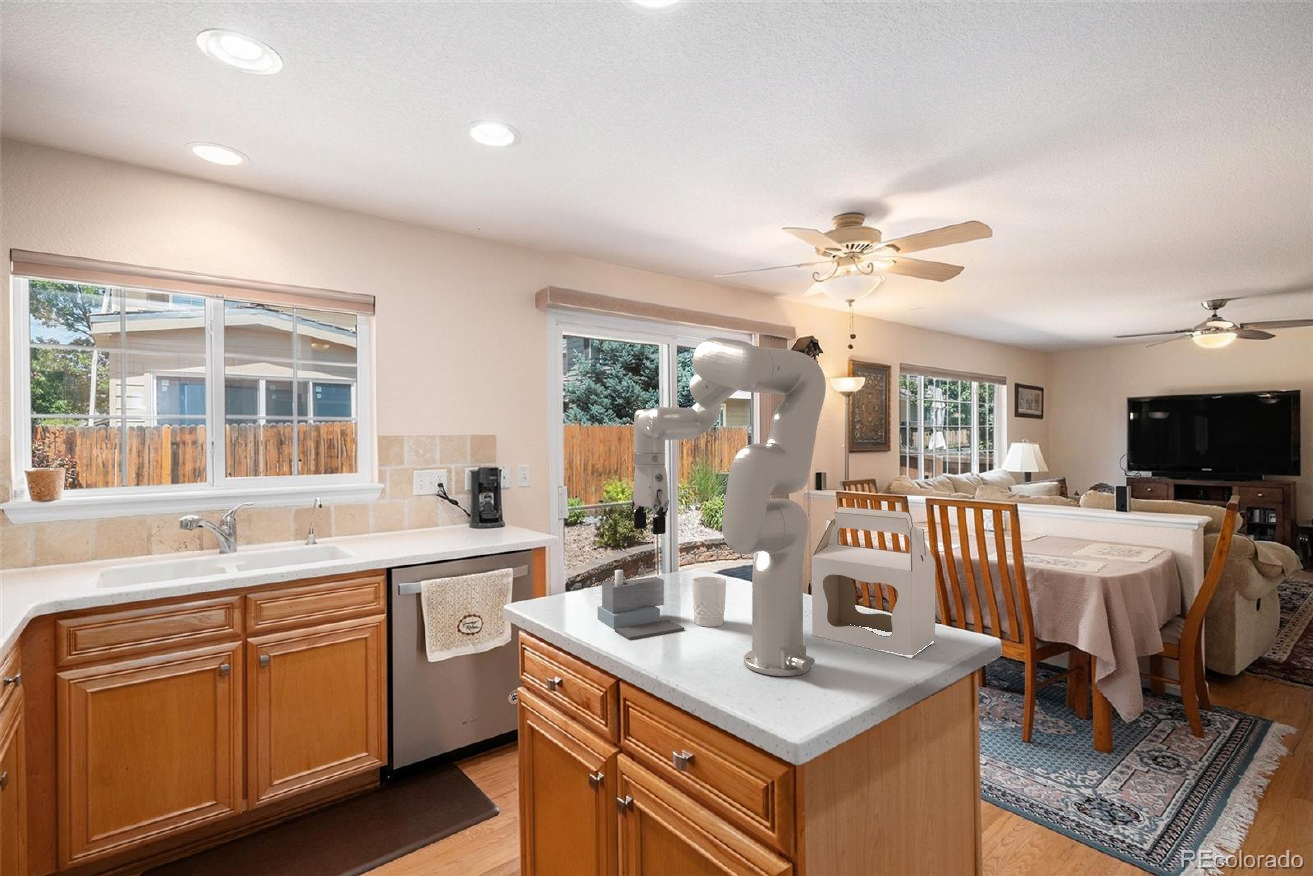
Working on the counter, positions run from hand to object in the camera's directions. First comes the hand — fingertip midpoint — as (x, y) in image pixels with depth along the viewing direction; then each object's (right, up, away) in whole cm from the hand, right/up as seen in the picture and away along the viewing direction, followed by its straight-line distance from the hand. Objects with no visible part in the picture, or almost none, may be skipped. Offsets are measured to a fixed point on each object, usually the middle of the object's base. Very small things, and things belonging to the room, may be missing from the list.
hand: (649, 531), depth 153 cm
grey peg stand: (-5, -21, -3) cm, 21 cm away
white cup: (+14, -21, -5) cm, 26 cm away
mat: (0, -21, -11) cm, 24 cm away
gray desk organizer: (-4, -18, -2) cm, 18 cm away
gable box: (+48, -21, -17) cm, 55 cm away
